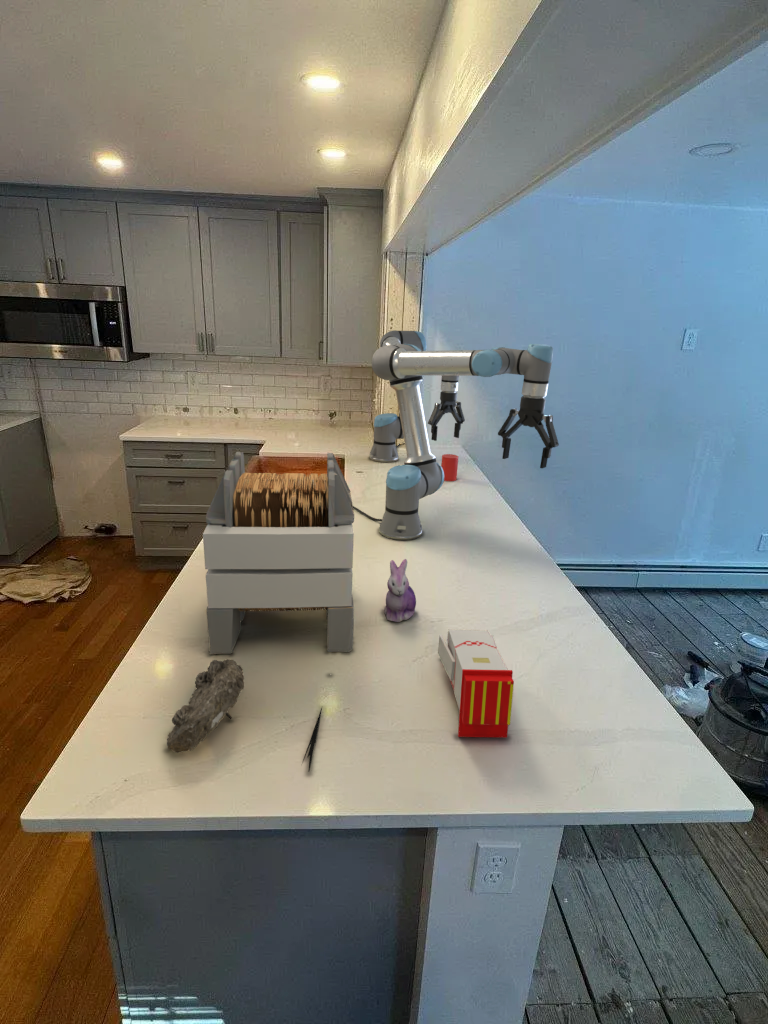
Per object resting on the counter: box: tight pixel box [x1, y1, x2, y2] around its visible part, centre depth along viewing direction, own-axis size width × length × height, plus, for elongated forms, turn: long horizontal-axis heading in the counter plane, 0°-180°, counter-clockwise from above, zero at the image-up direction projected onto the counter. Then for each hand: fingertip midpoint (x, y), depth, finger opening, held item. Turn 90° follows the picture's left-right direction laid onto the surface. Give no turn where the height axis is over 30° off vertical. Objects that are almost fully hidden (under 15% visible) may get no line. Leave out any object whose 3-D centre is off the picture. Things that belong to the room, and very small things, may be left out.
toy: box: [437, 628, 515, 738], centre depth 117 cm, size 12×13×30 cm
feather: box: [301, 673, 332, 771], centre depth 108 cm, size 2×28×2 cm
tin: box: [440, 453, 459, 482], centre depth 266 cm, size 8×8×11 cm
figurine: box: [384, 558, 417, 623], centre depth 145 cm, size 9×10×15 cm
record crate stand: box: [202, 451, 355, 655], centre depth 137 cm, size 34×33×41 cm
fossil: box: [166, 658, 245, 754], centre depth 106 cm, size 22×10×15 cm
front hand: (523, 462), depth 183 cm, fingers open, 13 cm apart
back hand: (445, 438), depth 258 cm, fingers open, 13 cm apart
